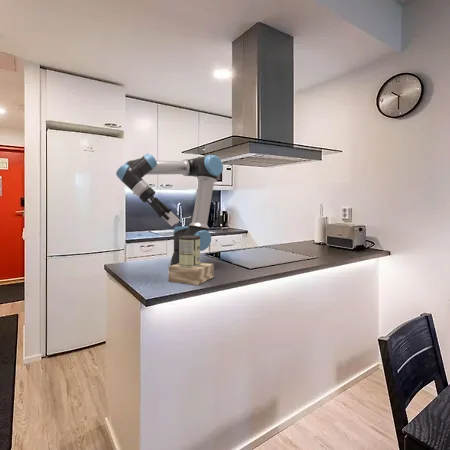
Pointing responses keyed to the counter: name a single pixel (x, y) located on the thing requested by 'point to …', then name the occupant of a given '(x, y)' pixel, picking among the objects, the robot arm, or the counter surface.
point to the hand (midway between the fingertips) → (176, 223)
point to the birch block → (191, 273)
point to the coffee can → (189, 251)
